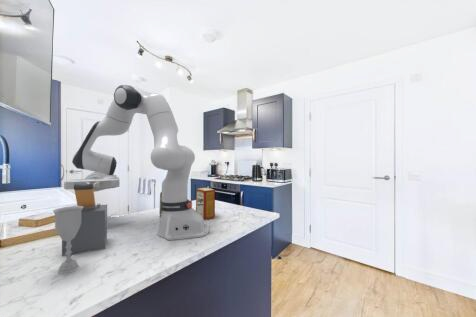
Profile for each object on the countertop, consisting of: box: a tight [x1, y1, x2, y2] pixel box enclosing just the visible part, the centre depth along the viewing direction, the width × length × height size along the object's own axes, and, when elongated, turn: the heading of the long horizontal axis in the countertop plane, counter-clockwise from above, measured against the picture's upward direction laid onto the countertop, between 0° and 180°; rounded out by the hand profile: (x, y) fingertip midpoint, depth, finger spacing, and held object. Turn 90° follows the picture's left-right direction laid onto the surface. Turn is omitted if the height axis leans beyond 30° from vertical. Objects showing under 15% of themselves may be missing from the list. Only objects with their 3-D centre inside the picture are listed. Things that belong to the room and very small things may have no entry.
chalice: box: [52, 205, 83, 275], centre depth 60 cm, size 7×7×18 cm
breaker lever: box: [73, 184, 97, 209], centre depth 72 cm, size 2×5×12 cm
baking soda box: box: [195, 187, 216, 221], centre depth 113 cm, size 10×6×16 cm
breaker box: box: [61, 203, 108, 257], centre depth 75 cm, size 10×12×15 cm
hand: (91, 185), depth 85 cm, fingers closed
